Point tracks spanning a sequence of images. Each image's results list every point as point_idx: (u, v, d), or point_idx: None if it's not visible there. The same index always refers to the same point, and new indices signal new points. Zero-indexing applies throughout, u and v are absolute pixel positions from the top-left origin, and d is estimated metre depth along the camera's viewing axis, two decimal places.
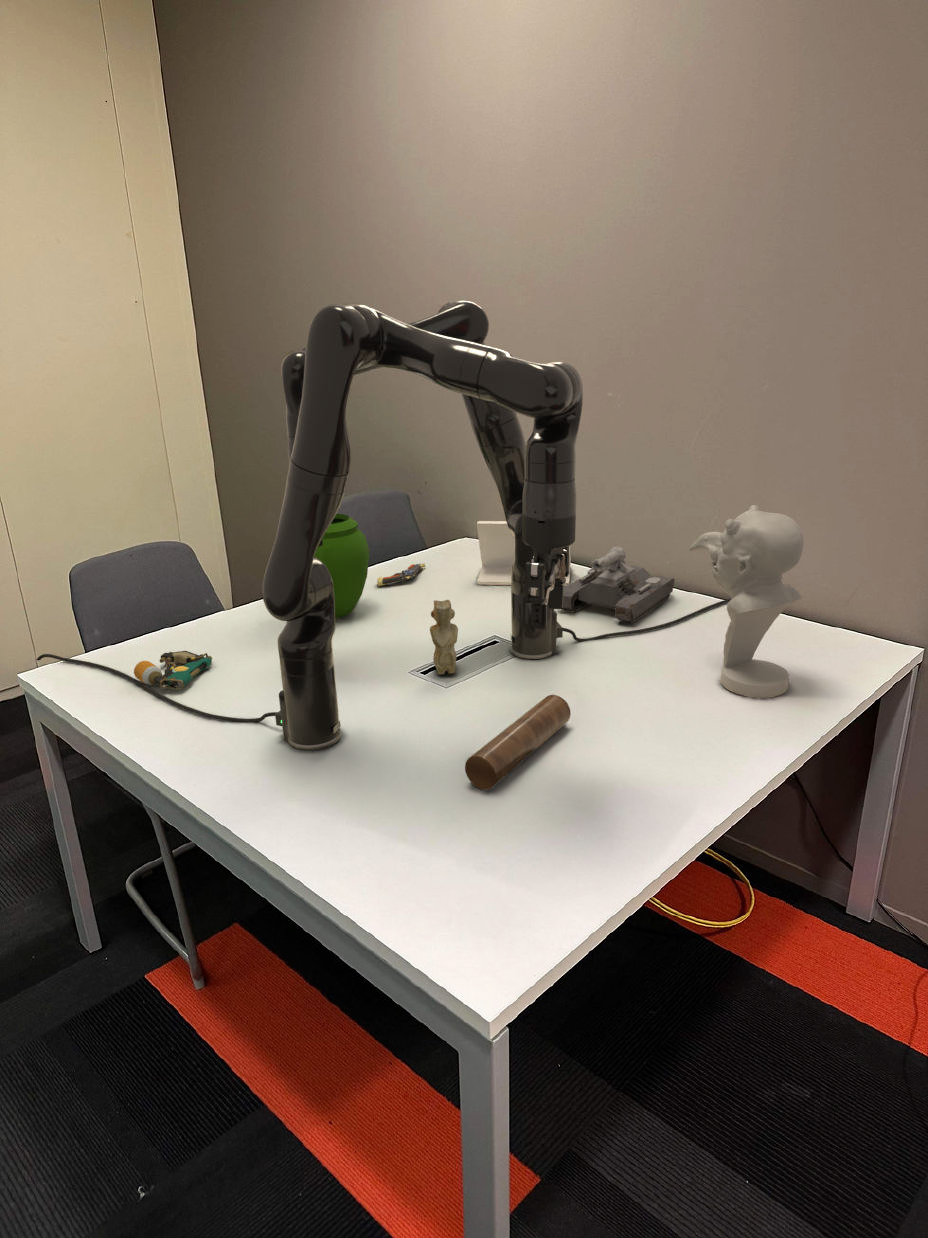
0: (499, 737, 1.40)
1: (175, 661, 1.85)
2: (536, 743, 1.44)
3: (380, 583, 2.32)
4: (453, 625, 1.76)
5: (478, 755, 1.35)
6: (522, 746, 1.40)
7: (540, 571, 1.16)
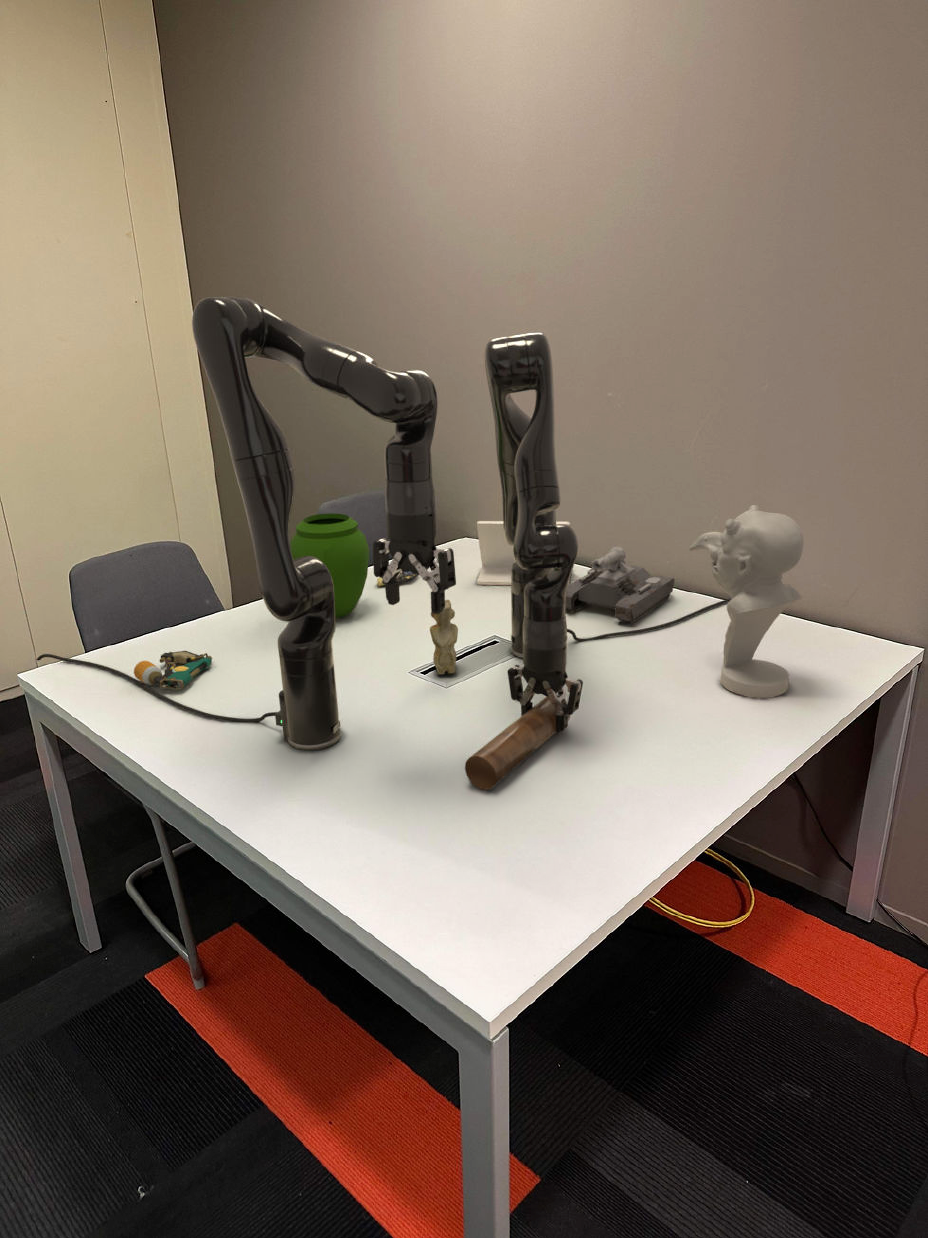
0: (499, 737, 1.40)
1: (175, 661, 1.85)
2: (536, 743, 1.44)
3: (380, 583, 2.32)
4: (453, 625, 1.76)
5: (478, 755, 1.35)
6: (522, 746, 1.40)
7: (452, 556, 1.29)
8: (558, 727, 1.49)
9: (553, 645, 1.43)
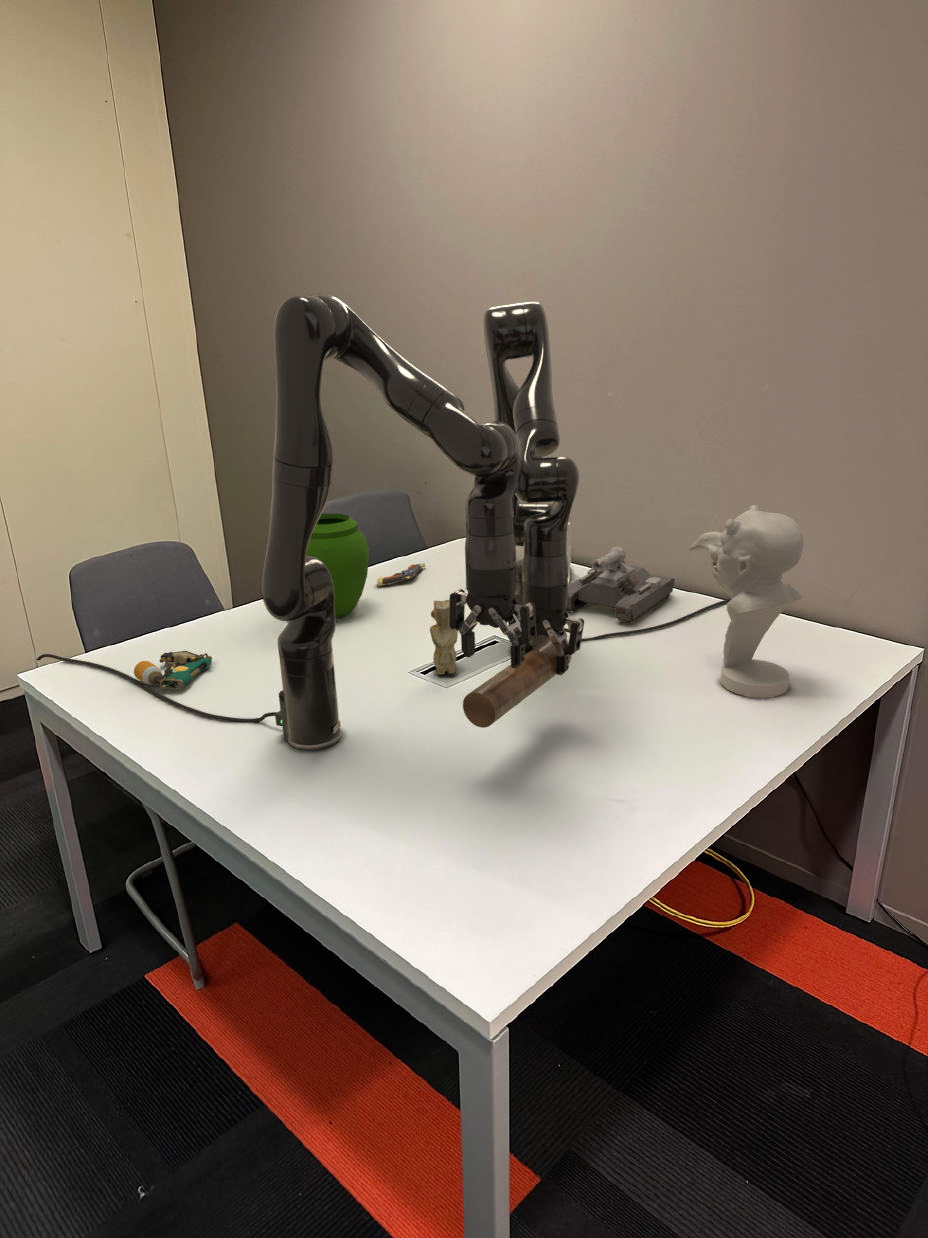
0: (498, 675, 1.36)
1: (175, 661, 1.85)
2: (536, 682, 1.40)
3: (380, 583, 2.32)
4: None
5: (476, 691, 1.31)
6: (521, 684, 1.36)
7: (534, 610, 1.26)
8: (559, 668, 1.45)
9: (554, 582, 1.39)
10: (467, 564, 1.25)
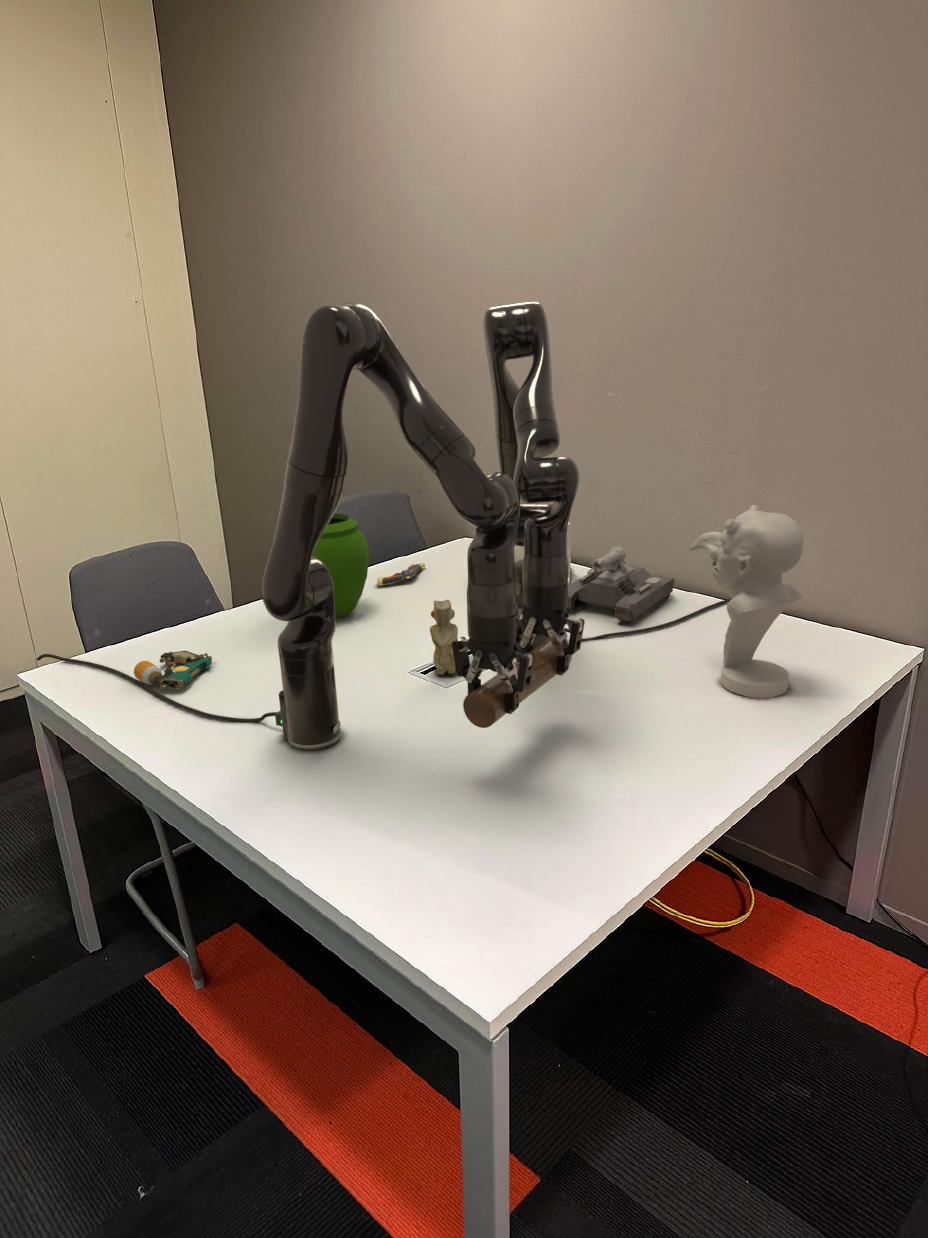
0: None
1: (175, 661, 1.85)
2: (536, 683, 1.40)
3: (380, 583, 2.32)
4: (453, 625, 1.76)
5: (476, 691, 1.31)
6: None
7: (533, 660, 1.29)
8: (559, 668, 1.45)
9: (554, 582, 1.39)
10: (469, 611, 1.28)
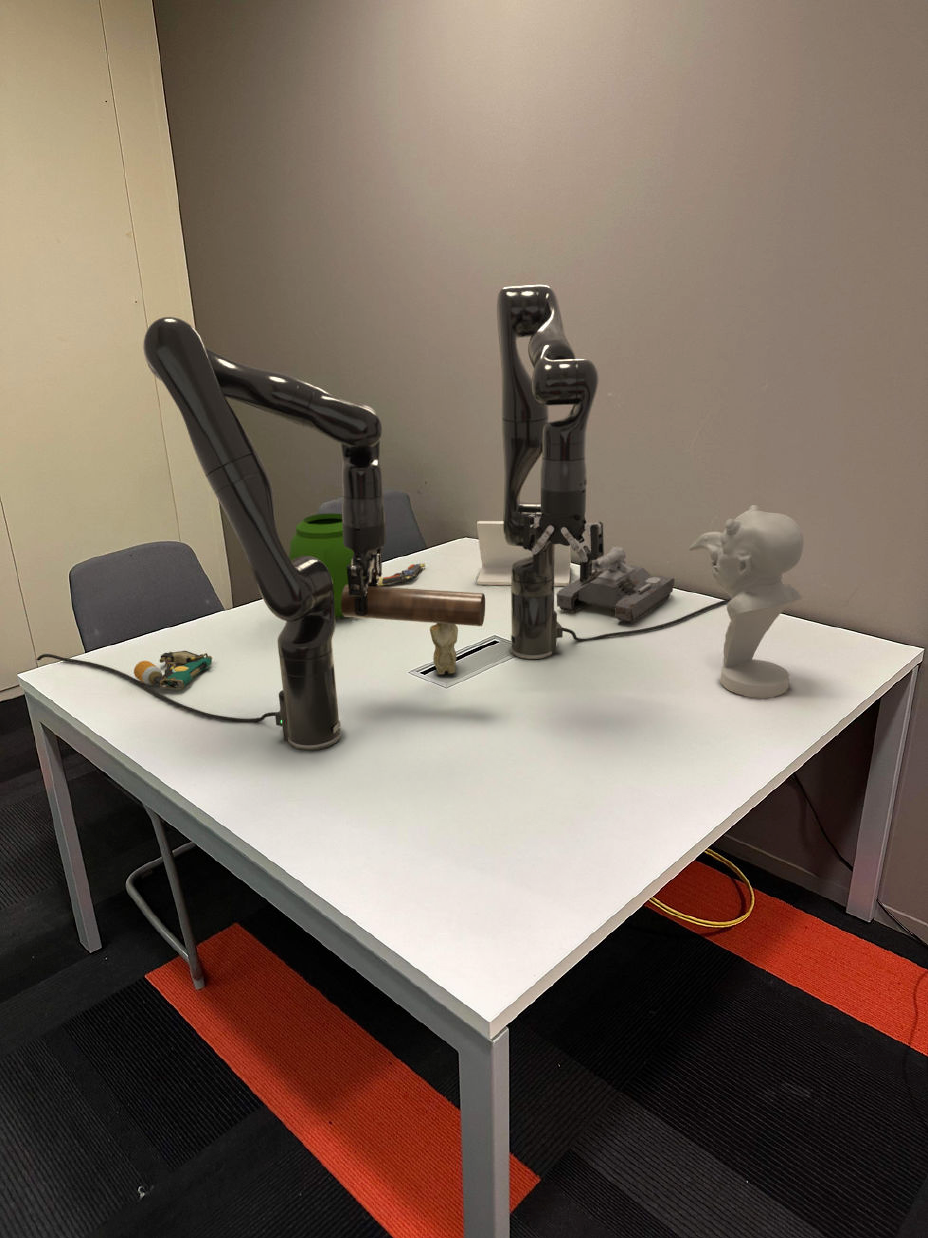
0: (383, 587, 1.56)
1: (175, 661, 1.85)
2: (410, 610, 1.53)
3: (380, 583, 2.32)
4: (453, 625, 1.76)
5: None
6: (387, 601, 1.53)
7: (358, 573, 1.48)
8: (582, 575, 1.44)
9: (572, 486, 1.38)
10: None
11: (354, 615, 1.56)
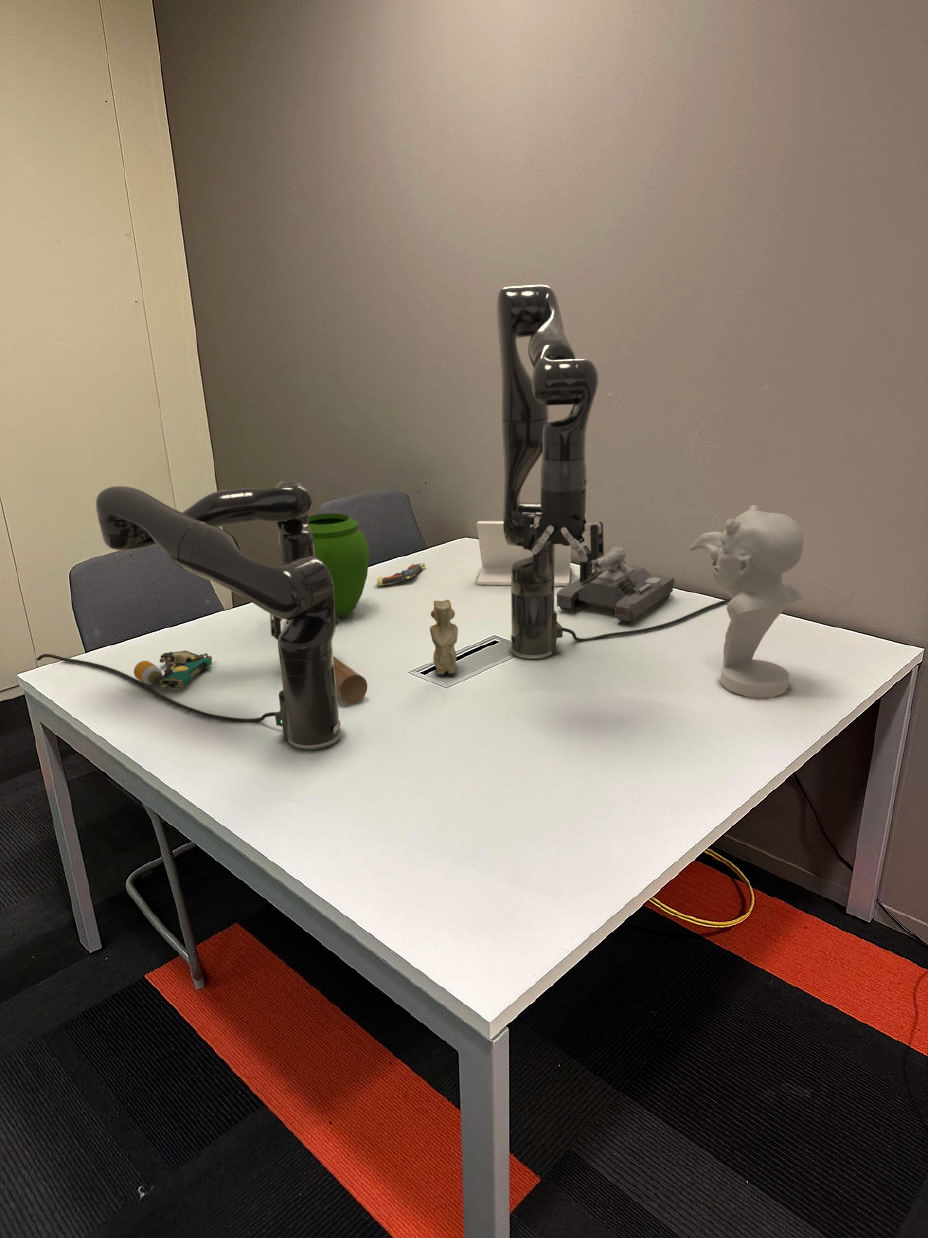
0: None
1: (175, 661, 1.85)
2: None
3: (380, 583, 2.32)
4: (453, 625, 1.76)
5: None
6: None
7: (273, 617, 1.74)
8: (582, 575, 1.44)
9: (572, 486, 1.38)
10: None
11: None
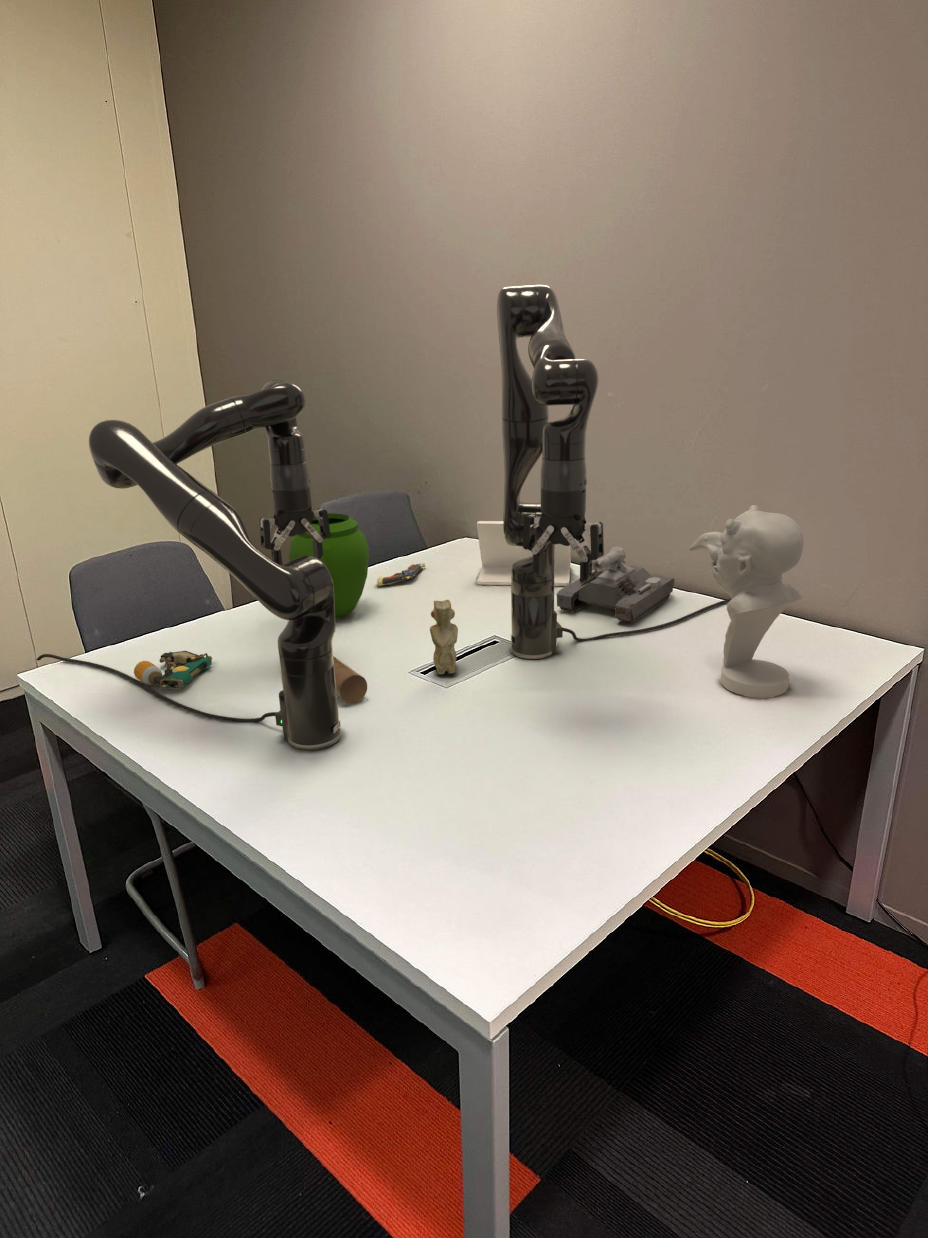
0: None
1: (175, 661, 1.85)
2: None
3: (380, 583, 2.32)
4: (453, 625, 1.76)
5: None
6: None
7: (263, 525, 1.68)
8: (582, 575, 1.44)
9: (572, 486, 1.38)
10: None
11: None
